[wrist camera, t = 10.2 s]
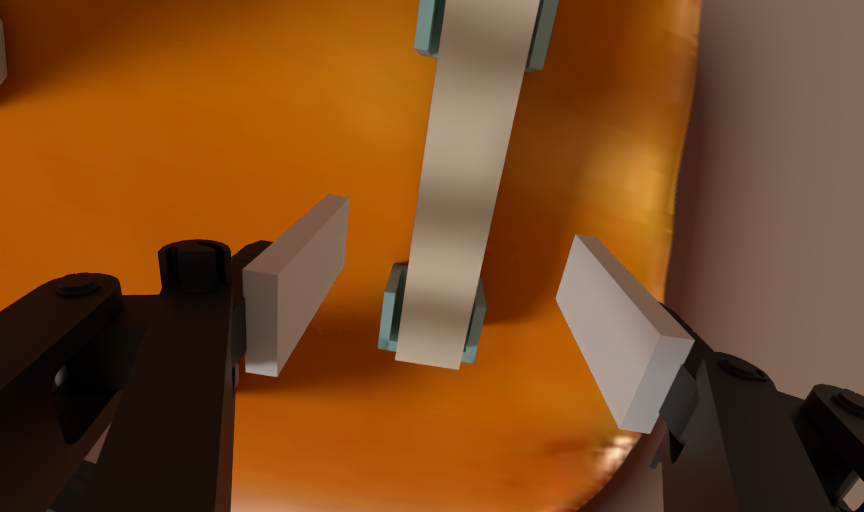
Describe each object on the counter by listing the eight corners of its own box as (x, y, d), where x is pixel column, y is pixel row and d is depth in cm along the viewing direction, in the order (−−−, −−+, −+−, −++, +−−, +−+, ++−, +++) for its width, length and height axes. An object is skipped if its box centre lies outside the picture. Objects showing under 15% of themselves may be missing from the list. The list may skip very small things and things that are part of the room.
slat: (449, 5, 23) (448, -21, 17) (519, 17, 23) (540, -5, 17) (405, 310, 31) (394, 360, 25) (457, 318, 31) (459, 369, 25)
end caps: (431, -32, 23) (426, -58, 19) (546, -12, 23) (567, -33, 19) (387, 314, 32) (377, 348, 28) (470, 327, 32) (473, 363, 28)
